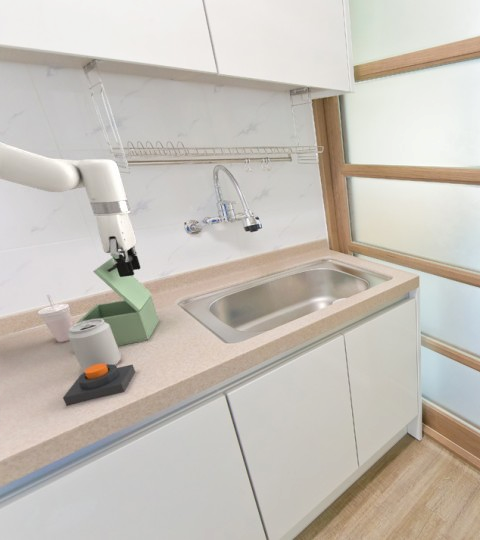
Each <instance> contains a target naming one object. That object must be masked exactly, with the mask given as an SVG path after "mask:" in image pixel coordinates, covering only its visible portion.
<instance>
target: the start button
mask: <svg viewBox="0 0 480 540" xmlns="http://www.w3.org/2000/svg"><path fill="white" fill-rule="evenodd" d="M84 373H85V374H86V377H87V379H94V378H98V377H100V376H103V375H105V374H106V373H108V368H107V366H106V364H105V363H100V364H96V365H93V366H91V367H89V368H87V369H86V370H85V372H84Z"/></svg>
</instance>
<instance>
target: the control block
mask: <svg viewBox="0 0 480 540" xmlns="http://www.w3.org/2000/svg"><path fill="white" fill-rule="evenodd" d="M106 366H107V368H108V373H106V374H105V375H103V376H100V377H98V378H94V379H87V377H86V374H85V372H83V373H81V374H80V375H79V376H78V378H76V380H75V381H74V383H73V384H72V385H71V386H70V388H69V389H68V391H67V392H65V394H64V395H63V397H62V399H63V401H64V403H65V406H67V407H68V406H71V405H76V404H80V403H84V402H88V401H92V400H96V399H97V400H98V399H100V398H104V397H108V396H113V395H118V394H122V393H125V391H126V390H127V388H128V386H129V384H130V382H131V381H132V379H133V377H134V375H135V373H136V370H135V367H134V364H128V365H124V366H119V367H118V366H117V365H112V364H107V365H106Z"/></svg>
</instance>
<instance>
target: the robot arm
mask: <svg viewBox="0 0 480 540" xmlns="http://www.w3.org/2000/svg"><path fill="white" fill-rule="evenodd" d="M0 179H1V180H4V181H8V182H10V183H15V184H18V185H22V186H26V187H29V188H33V189H37V190H41V191H45V192H48V193H49V192H50V193H64V192H68V191H71V190H76V189H82V188H85V191H86V194H87V198H88V200H89V204H90V207H91V210H92V213H93V216H94V217H96V224H97V231H98V234H99V239H100V241H101V246H102V250H103V252H104V253H105V254H110V256H111V258H114V262H115V263H116V267H117V270H118V273H119V276H120V277H125V276H134V275H135V271H136V270H140V269H141V265H140V260H139V258H138V253H137V251H136V244H137V238H136V234H135V231H134V227H133V224H132V221H131V218H130V216H129V214H130V213H132V212H131V208H130V203H129V202H128V197H127V195H126V190H125V187H124V183H123V180H122V176H121V173H120V169H119V166H118V164H117V162H116V161H114V160H113V159H110V158H88V159H86V158H85V159H81V160H78V159H77V160H75V159H65V158H50V157H48V156H44V155H40V154H39V153H35V152H31V151H27V150H24V149H21V148H19V147H16V146H13V145H10V144H7V143H4V142H2V141H0ZM128 255H130V256H132V258H133V260H132V261H129V259H128Z"/></svg>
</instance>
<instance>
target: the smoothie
mask: <svg viewBox="0 0 480 540" xmlns="http://www.w3.org/2000/svg"><path fill="white" fill-rule="evenodd" d="M46 297H47V299H48V302H49V304H50V306H47V307H44V308H41V309H40V310H38V311H37V315H38V317H40V318H41V319H42V321H43V322H44V324H45V325H46V327H47V329H48V330H49V331H50V332H51V335H53V337H54V338H55V340H56V341H57V342H58V343H62V342H66V341H69V338H68V334H69V333H70V331H69V329H70V328H71V327H72V326H73V322H72V316H71V312H70V309H71V307H70V305H69V304H68V303H61V304H55V305H54V301H53V300H52V297H51V294H46Z"/></svg>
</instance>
